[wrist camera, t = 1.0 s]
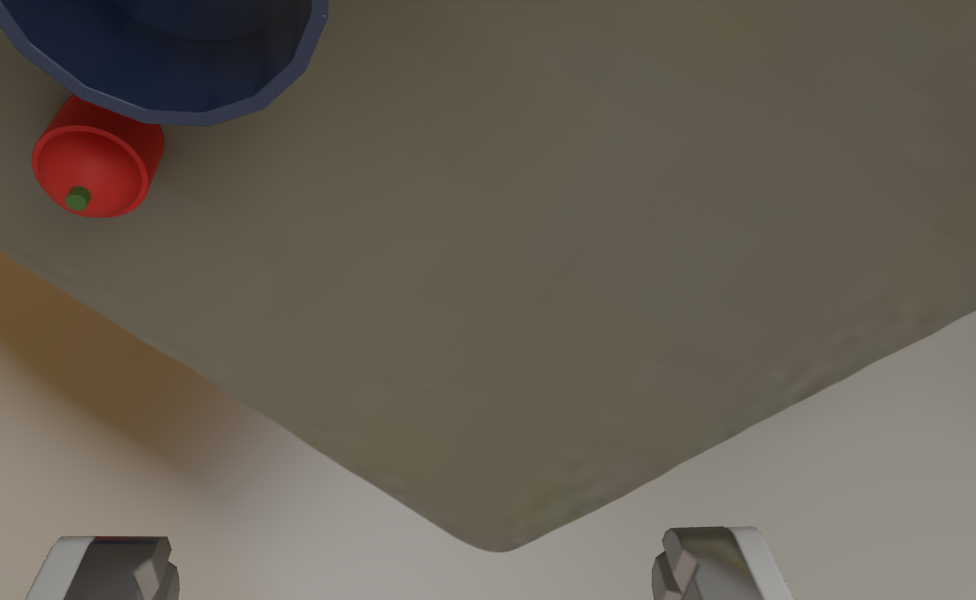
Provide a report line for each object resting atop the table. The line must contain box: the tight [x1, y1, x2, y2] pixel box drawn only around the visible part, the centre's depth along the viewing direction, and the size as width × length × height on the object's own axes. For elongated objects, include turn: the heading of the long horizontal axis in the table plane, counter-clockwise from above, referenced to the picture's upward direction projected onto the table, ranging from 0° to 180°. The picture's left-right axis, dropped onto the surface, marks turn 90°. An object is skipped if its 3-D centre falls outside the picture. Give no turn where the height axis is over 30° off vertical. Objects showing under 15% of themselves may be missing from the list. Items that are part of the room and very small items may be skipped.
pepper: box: [32, 95, 164, 218], centre depth 37 cm, size 6×6×8 cm
